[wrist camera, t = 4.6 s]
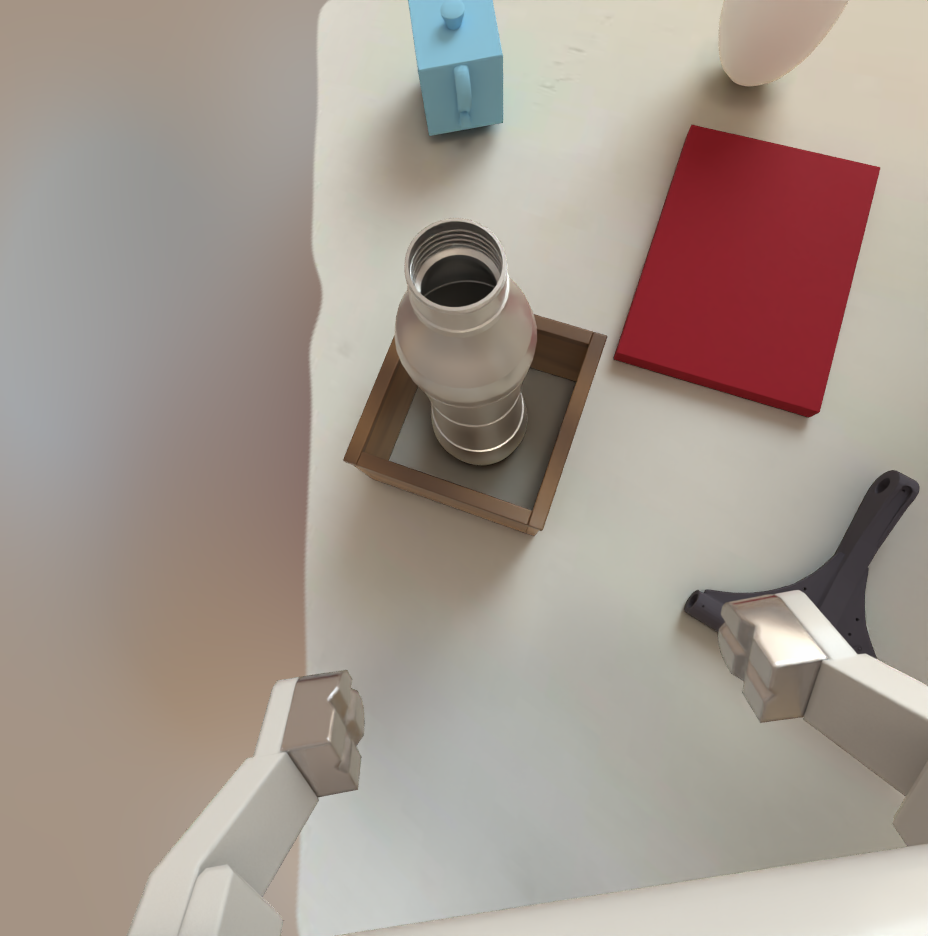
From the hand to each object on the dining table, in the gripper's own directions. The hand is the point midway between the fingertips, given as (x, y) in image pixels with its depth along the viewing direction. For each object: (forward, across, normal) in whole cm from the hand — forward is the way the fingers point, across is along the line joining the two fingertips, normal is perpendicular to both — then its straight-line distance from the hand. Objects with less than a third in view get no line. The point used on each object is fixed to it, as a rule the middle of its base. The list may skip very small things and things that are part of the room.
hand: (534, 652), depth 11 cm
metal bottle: (+26, 0, +8) cm, 27 cm away
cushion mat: (+32, -22, +2) cm, 38 cm away
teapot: (+46, -4, -12) cm, 48 cm away
